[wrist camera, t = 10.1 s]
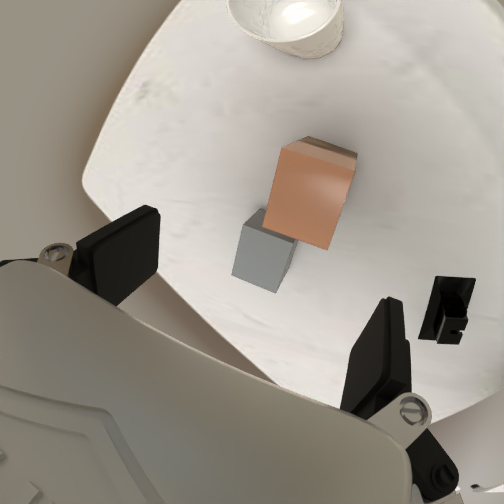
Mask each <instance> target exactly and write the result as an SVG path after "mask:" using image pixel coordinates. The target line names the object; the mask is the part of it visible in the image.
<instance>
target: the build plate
mask: <svg viewBox="0 0 504 504" xmlns="http://www.w3.org/2000/svg"><path fill="white" fill-rule="evenodd" d="M475 281H476V278H463V277H446V276H436V277H435V280H434V284H433V288H432V292H431V296H430V300H429V304H428V307H427V311H426V314H425V318H424V321H423V324H422V327H421V331H420V334H419V337H418V339H422V340H436V341H437V344H455V345H459V343H460V340H461V338H462V335H463V334H462V332H459V331H460V330H462V331H464V330H465V328H466V325H467V322H468V317H467V308H468V305H469V302H470V299H471V295H472V292H473V289H474V285H475Z"/></svg>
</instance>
